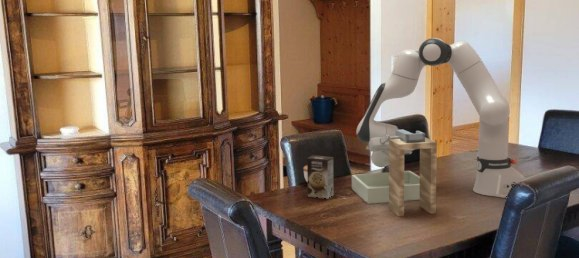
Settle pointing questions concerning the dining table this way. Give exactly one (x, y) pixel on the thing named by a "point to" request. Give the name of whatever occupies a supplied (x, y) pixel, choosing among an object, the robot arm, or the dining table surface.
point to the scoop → (410, 136)
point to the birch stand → (426, 174)
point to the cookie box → (320, 176)
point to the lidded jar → (305, 173)
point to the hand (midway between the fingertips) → (400, 136)
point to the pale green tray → (384, 186)
